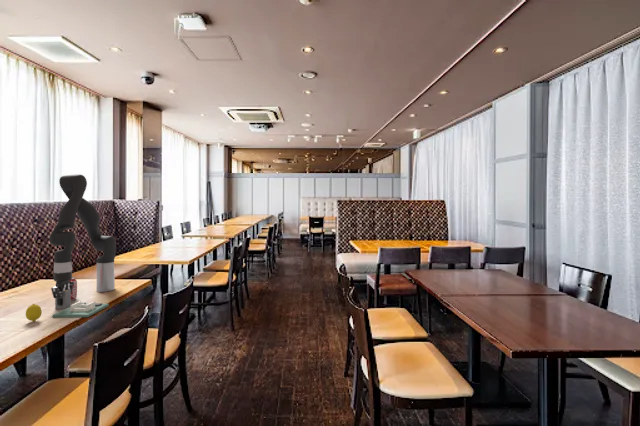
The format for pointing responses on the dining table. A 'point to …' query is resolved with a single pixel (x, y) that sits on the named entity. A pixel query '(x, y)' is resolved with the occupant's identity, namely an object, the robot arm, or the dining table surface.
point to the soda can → (74, 289)
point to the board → (81, 309)
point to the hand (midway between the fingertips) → (63, 304)
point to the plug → (64, 300)
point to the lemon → (33, 312)
